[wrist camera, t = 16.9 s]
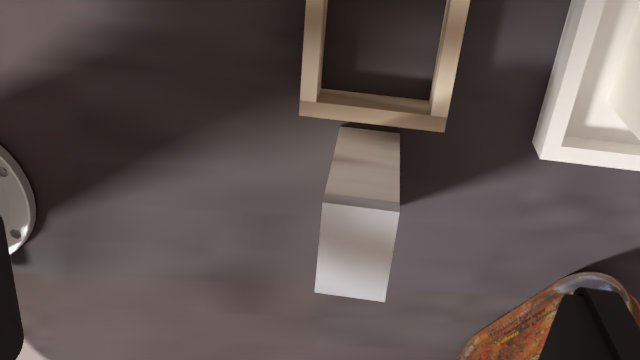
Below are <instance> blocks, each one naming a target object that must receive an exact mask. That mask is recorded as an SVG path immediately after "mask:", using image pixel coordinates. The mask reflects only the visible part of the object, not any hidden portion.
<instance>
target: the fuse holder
mask: <svg viewBox="0 0 640 360" xmlns="http://www.w3.org/2000/svg"><path fill="white" fill-rule="evenodd" d="M469 4H470V0H447V1H446V7H445V13H444V18H443V24H442V30H441V35H440V41H439V47H438V52H437V58H436V63H435V69H434V75H433V80H432V86H431V92H430V97H429V101H427V100H418V99H409V98H400V97H392V96H383V95H374V94H366V93H357V92H348V91H339V90H331V89H322V88H321V80H322V68H323V55H324V43H325V30H326V18H327V5H328V0H306V9H305V25H304V41H303V57H302V73H301V89H300V105H299V115H300V116H308V117H317V118H325V119H333V120H342V121H350V122H359V123H367V124H376V125H384V126H393V127H401V128H410V129H418V130H427V131H435V132H445V126H446V121H447V116H448V111H449V106H450V101H451V96H452V91H453V86H454V80H455V75H456V70H457V65H458V60H459V55H460V50H461V45H462V40H463V35H464V29H465V24H466V19H467V14H468V9H469ZM399 213H400V133H392V132H384V131H375V130H367V129H358V128H350V127H342V126H340V129H339V134H338V138H337V142H336V147H335V151H334V155H333V160H332V164H331V169H330V173H329V177H328V182H327V186H326V190H325V195H324V199H323V204H322V215H321V226H320V237H319V248H318V260H317V271H316V282H315V292H316V293H323V294H330V295H338V296H345V297H352V298H359V299H366V300H374V301H381V302H385V297H386V291H387V285H388V279H389V273H390V267H391V261H392V255H393V249H394V243H395V237H396V231H397V225H398V219H399Z"/></svg>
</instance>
